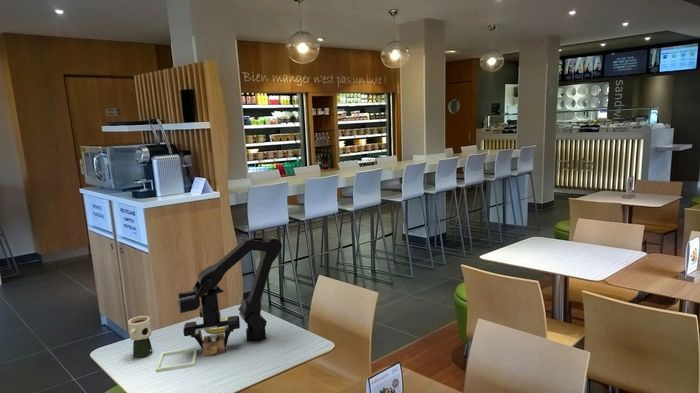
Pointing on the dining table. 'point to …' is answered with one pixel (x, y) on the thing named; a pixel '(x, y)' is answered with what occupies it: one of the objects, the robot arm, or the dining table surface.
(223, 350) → the brown piece
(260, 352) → the dining table surface
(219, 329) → the decorated donut
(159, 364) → the tray
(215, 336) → the stake
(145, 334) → the character mug
